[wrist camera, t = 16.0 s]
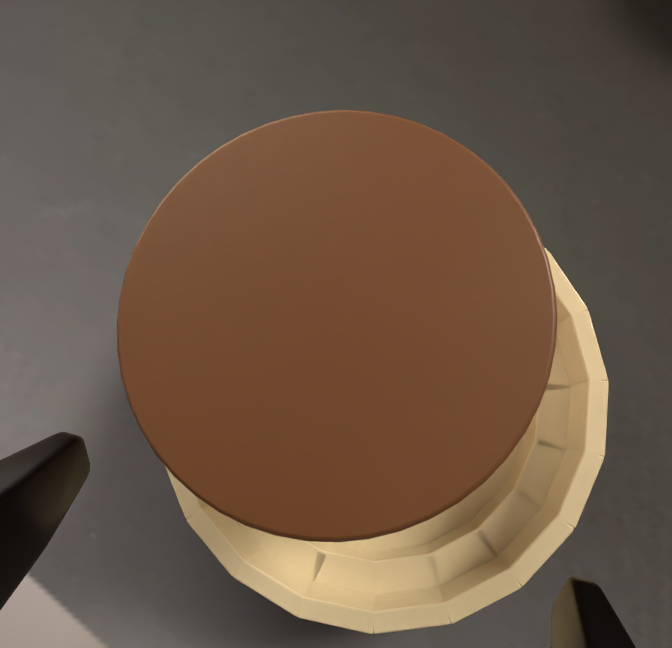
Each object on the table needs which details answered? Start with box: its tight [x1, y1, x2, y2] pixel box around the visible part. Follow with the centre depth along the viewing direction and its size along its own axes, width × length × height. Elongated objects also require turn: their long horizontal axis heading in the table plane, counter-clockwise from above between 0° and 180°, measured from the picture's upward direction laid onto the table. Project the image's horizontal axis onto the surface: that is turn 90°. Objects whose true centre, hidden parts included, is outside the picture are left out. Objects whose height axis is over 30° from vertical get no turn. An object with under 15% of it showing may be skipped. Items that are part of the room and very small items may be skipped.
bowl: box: [165, 248, 609, 634], centre depth 18 cm, size 14×14×4 cm
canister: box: [117, 110, 557, 542], centre depth 13 cm, size 6×6×13 cm
